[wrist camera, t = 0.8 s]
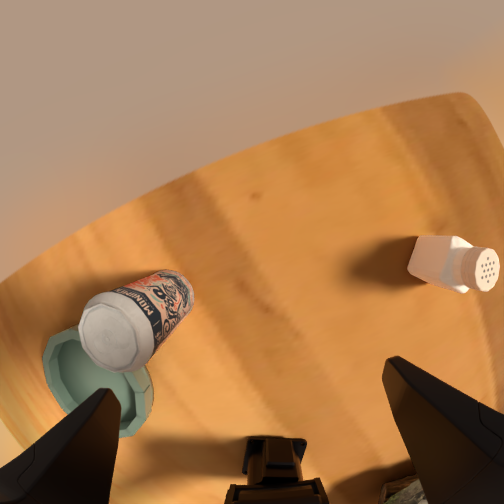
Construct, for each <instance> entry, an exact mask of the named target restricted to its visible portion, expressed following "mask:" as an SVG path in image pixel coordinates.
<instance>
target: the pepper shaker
mask: <svg viewBox="0 0 504 504" xmlns="http://www.w3.org/2000/svg"><path fill="white" fill-rule="evenodd" d="M499 268H500V265H499V259H498V256H497V254H496V253H495V251H494V250H493V249H489V248H482V247H473V246H472V245H470V244H469V243H468V242H466V241H465V240H463V239H461V238H459V237H458V236H426V235H421V236H419V237H418V239H417V241H416V244H415V247H414V250H413V253H412V256H411V258H410V261H409V264H408V268H407V270H408V271H409V273H410V274H411V275H413V276H415V277H417V278H419V279H421V280H423V281H425V282H427V283H429V284H432V285H435V286H439V287H442V288H445V289H449V290H452V291H455V292H459V293H466V292H467V291H468V290H469V288H472V289H476V290H479V291H489V290H490V289H491V288H492V287H494V285H495V283H496V281H497V279H498V275H499Z"/></svg>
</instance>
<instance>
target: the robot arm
mask: <svg viewBox="0 0 504 504" xmlns="http://www.w3.org/2000/svg"><path fill="white" fill-rule="evenodd" d="M382 382H383V385H384V388H385V391H386V394H387V398H388V401H389V404H390V407H391V411H392V414H393V417H394V420H395V422H396V425H397V427H398V429H399V432H400V434H401V436H402V439H403V441H404V443H405V446H406V448H407V451H408V453H409V455H410V458H411V460H412V463H413V465H414V468H415V470H416V473H417V475H418V478H419V481H420V483H421V486H422V488H423V491H424V494H425V497H426V499H427V502H428V504H504V414H502V413H500V412H497V411H495V410H494V409H492V408H490V407H488V406H486V405H484V404H482V403H481V402H478V401H477V400H475V399H473V398H471V397H470V396H468V395H466V394H464V393H463V392H461V391H459V390H457V389H456V388H454V387H452V386H450V385H448V384H447V383H445V382H443V381H441V380H440V379H438V378H436V377H434V376H433V375H431V374H429V373H428V372H426V371H424V370H422V369H421V368H419V367H417V366H415V365H414V364H412V363H410V362H409V361H407V360H405V359H403V358H402V357H400V356H394V357H391V358H388V359H387V360H386V362H385V366H384V370H383V374H382ZM121 410H122V408H121V404H120V402H119V400H118V398H117V397H116V395H115V394H114V392H113V390H112V389H110V388H99V389H97V390H96V391H95V392H94V393H93V394H92V395H90V396H89V397H88V398H87V399H86V400H85V401H83V402H82V403H81V404H80V405H79V406H77V407H76V408H75V409H74V410H73V411H72V412H70V413H69V414H68V415H67V416H66V417H64V418H63V419H62V420H61V421H60V422H59V423H57V424H56V425H55V426H54V427H53V428H51V429H50V430H49V431H48V432H47V433H46V434H44V435H43V436H42V437H41V438H40V439H38V440H37V441H36V442H35V443H34V444H32V445H31V446H30V447H29V448H28V449H26V450H25V451H24V452H23V453H22V454H20V455H19V456H18V457H16V458H15V459H13V460H12V461H11V462H9V463H7V464H6V465H5V466H3V467H1V468H0V504H109V497H110V490H111V483H112V477H113V471H114V465H115V460H116V454H117V449H118V441H119V430H120V420H121ZM301 443H303V444H301ZM306 446H307V441H306V440H305V439H278V438H261V437H249V438H248V439H247V445H246V451H245V457H244V463H243V469H242V473H243V474H245V475H247V485H236V484H231V485H230V489H229V490H228V491H227V494H226V499H225V503H224V504H329V501H328V497H327V495H326V492H325V490H324V487H323V485H322V482H321V480H320V478H314V479H312V480H305V481H303V476H302V470H301V465H300V464H301V461H302V458H303V455H304V452H305V449H306Z"/></svg>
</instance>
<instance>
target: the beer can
mask: <svg viewBox="0 0 504 504" xmlns="http://www.w3.org/2000/svg"><path fill="white" fill-rule="evenodd" d="M193 305H194V292H193V289H192V286H191V284H190V283H189V281H188V280H187V279H186V278H185V277H184V276H183V275H181V274H180V273H178V272H176V271H172V270H162V271H159V272H156V273H154V274H153V275H151V276H148V277H145V278H143V279H140V280H138V281H135V282H132V283H130V284H127V285H125V286H122V287H119V288H117V289H114V290H112V291H109V292H103V293H100V294H98V295H95V296H94V297H93V298H92V299H90V300H89V301H88V303H87V304H86V306H85V307H84V310H83V314H82V317H81V320H80V323H79V326H78V330H79V335H80V340H81V344H82V348H83V349H84V351H85V352H86V353H87V354H88V356H89V357H90V358H91V359H92V361H93V362H94V363H95V364H96V365H97V366H100V367H102V368H104V369H107V370H109V371H111V372H114V373H116V372H132V371H136V370H138V369H140V368H142V367H143V366H144V365H145V364H146V363H147V362H148V361H149V359H150V358H151V357H152V356H153V355H154V354H155V352H156V351H157V350H158V349H159V348H160V347H161V345H162V344H163V343H164V342H165V341H166V340H167V338H168V337H169V336H170V335H171V334H172V333H173V331H174V330H175V329H176V328H177V327H178V326H179V324H180V323H181V322H182V321H183V320H184V319H185V317H186V316H187V315H188V314H189V313H190V311H191V310H192V307H193Z"/></svg>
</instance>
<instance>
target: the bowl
mask: <svg viewBox="0 0 504 504" xmlns="http://www.w3.org/2000/svg"><path fill="white" fill-rule="evenodd" d="M78 326H79V324H77V325H74V326H72V327H70V328H68V329H66V330H64V331H61V332H59V333H57V334H55V335H53V336H51V337H50V338H49V340H48V343H47V346H46V348H45V351H44V354H43V357H42V360H43V366H44V372H45V377H46V382H47V384H48V387H49V389H50V390H51V392H52V394H53V395H54V397H55V399H56V400H57V402H58V404H59V405H60V407H61V408H62V409H63V411H64V412H66V413H67V414H69V413H70V412H72V411H73V410H74V409H75V408H76V407H77V406H79V405H80V404H81V403H82V402H83V401H85V400H86V399H87V398H88V397H89V396H90V395H92V394H93V393H94V392H95V391H96V390H97V389H99V388H110V389H112V390H113V392H114V394H115V395H116V397H117V398H118V400H119V402H120V404H121V408H122V410H121V420H120V430H119V438H122V437H129V436H133V435H134V434H135V433H136V432H137V431H138V429H139V428H140V427H141V426H142V424H143V423H144V422H145V421H146V419H147V418H148V416H149V414H150V412H151V410H152V409H151V408H152V405H153V400H154V389H153V384H152V380H151V377H150V374H149V372H148V370H147V368H146V366H145V365H144V366H143V367H142V368H140V369H138V370H136V371H132V372H116V373H114V372H111V371H109V370H107V369H104V368H102V367H100V366H97V365H96V364H95V363H94V362H93V361H92V359H91V358H90V357H89V356H88V354H87V353H86V352H85V351H84V349H83V348H82V344H81V340H80V335H79V330H78Z"/></svg>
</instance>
